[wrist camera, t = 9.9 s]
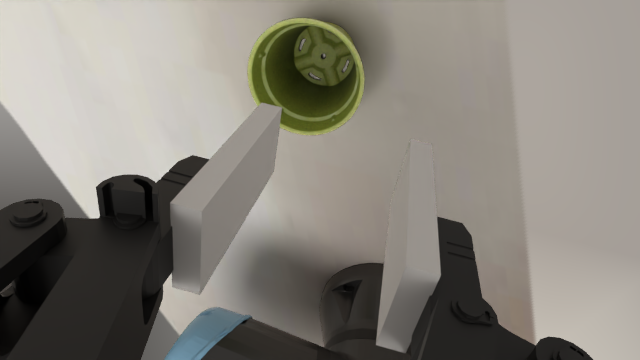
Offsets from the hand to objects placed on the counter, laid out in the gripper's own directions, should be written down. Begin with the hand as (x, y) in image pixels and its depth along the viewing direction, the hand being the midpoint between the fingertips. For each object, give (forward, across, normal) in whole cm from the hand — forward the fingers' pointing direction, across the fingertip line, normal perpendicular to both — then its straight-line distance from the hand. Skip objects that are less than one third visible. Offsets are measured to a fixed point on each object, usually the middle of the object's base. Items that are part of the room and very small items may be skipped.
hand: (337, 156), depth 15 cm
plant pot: (+27, +5, +4) cm, 28 cm away
